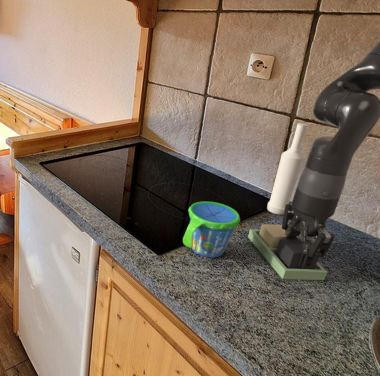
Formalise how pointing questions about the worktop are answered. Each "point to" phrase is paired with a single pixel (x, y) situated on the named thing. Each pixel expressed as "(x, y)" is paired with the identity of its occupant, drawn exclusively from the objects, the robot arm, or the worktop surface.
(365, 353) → the worktop surface
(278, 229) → the foam pad
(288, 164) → the bottle
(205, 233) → the snack cup
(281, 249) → the dark gray block
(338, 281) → the worktop surface
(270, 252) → the frame
